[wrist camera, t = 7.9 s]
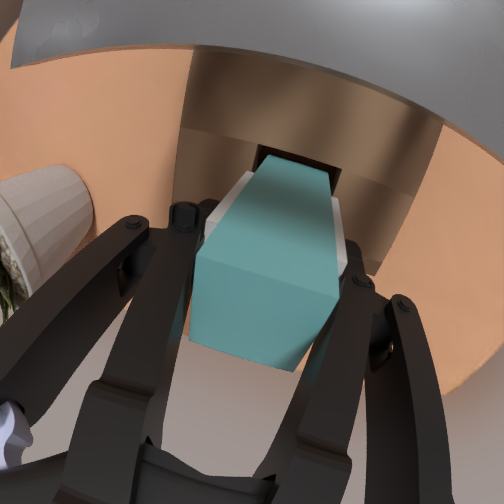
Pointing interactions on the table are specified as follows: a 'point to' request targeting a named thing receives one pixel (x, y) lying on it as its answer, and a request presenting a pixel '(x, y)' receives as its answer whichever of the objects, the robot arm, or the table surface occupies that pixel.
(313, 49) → the grey metal bridge
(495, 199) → the table surface
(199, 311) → the peg
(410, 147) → the socket plate
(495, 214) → the table surface
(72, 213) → the potted plant
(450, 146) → the table surface
